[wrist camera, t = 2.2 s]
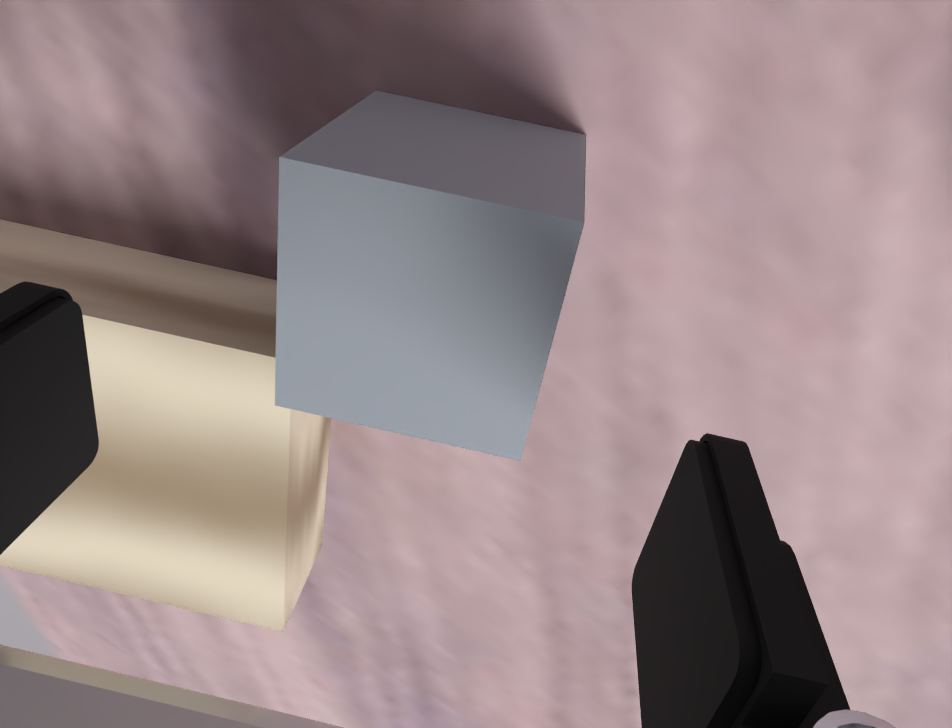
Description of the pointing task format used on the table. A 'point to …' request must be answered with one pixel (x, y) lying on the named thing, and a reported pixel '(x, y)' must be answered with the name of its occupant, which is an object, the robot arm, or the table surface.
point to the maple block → (177, 436)
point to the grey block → (425, 269)
